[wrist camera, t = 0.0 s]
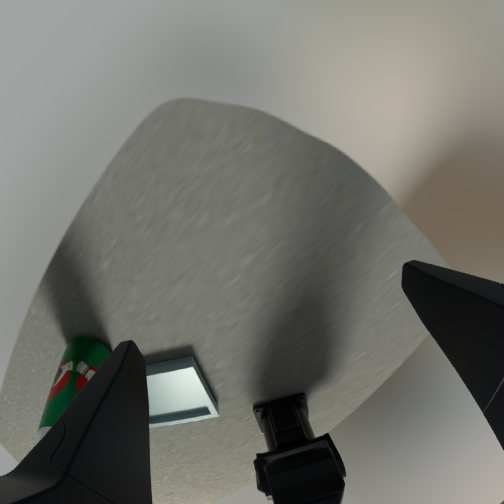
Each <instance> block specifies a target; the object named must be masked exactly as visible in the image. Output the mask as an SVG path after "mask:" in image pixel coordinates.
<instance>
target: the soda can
mask: <svg viewBox="0 0 504 504" xmlns="http://www.w3.org/2000/svg"><path fill="white" fill-rule="evenodd" d="M110 354H111V352H110V351H109V350H108V348H107V347H106V346H105V345H104V344H103V343H101V342H100V341H98V340H96V339H94V338H91V337H77V338H74V339H72V340H71V341H69V343H68V345H67V347H66V350H65V352H64V355H63V357H62V360H61V362H60V365H59V368H58V370H57V373H56V376H55V379H54V382H53V384H52V387H51V390H50V393H49V396H48V399H47V402H46V405H45V409H44V412H43V415H42V418H41V422H40V425H39V429H38V432H39V435H40V438H41V439H42V438H43V437H44V435H45V434H46V433H47V432H48V431H49V429H50V428H51V427H52V426H53V424H54V423H55V422H56V421H57V419H58V418H59V417H60V416H62V413H63V412H64V411H65V409H66V408H67V407H68V405H69V404H70V403H71V402H72V400H73V399H74V398H75V397H76V395H77V394H78V393H79V392H80V391H81V389H82V388H83V387H84V386H85V384H86V383H87V382H88V381H89V379H90V378H91V377H92V376H93V375H94V373H95V372H96V371H97V370H98V368H99V367H100V366H101V365H102V364H103V362H104V361H105V360H106V359H107V358H108V356H109V355H110Z"/></svg>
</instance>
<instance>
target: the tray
mask: <svg viewBox="0 0 504 504" xmlns="http://www.w3.org/2000/svg"><path fill="white" fill-rule="evenodd" d="M146 375H147V386H148V396H149V428H150V427H158V426H166V425H172V424H179V423H185V422H191V421H197V420H202V419H207V418H212V417H217V416H219V411H218V405H217V403H216V401H215V399H214V397H213V396H212V394H211V392H210V390H209V388H208V386H207V384H206V382H205V380H204V378H203V376H202V374H201V372H200V370H199V368H198V366H197V364H196V362H195V360H194V358H193V355H192V356H187V357H183V358H178V359H173V360H169V361H164V362H159V363H154V364H149V365H146Z"/></svg>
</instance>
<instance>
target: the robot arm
mask: <svg viewBox="0 0 504 504" xmlns="http://www.w3.org/2000/svg"><path fill="white" fill-rule="evenodd" d="M401 285H402V289H403V291H404V293H405V294H406V296H407V298H408V299H409V301H410V303H411V304H412V306H413V308H414V309H415V311H416V313H417V314H418V316H419V318H420V319H421V321H422V322H423V324H424V325H425V327H426V328H427V330H428V331H429V332H430V334H431V335H432V337H433V338H434V339H435V340H436V342H437V344H438V345H439V346H440V348H441V349H442V351H443V352H444V354H445V355H446V356H447V358H448V359H449V361H450V362H451V364H452V365H453V367H454V368H455V369H456V371H457V373H458V374H459V375H460V377H461V379H462V380H463V382H464V383H465V385H466V387H467V388H468V389H469V391H470V393H471V394H472V396H473V398H474V399H475V401H476V403H477V404H478V406H479V407H480V409H481V411H482V412H483V414H484V416H485V418H486V419H487V421H488V423H489V425H490V426H491V428H492V430H493V431H494V433H495V435H496V437H497V439H498V441H499V442H500V444H501V446H502V448H503V450H504V284H502V283H501V284H500V283H498V282H495V281H491V280H488V279H484V278H480V277H477V276H473V275H470V274H466V273H462V272H458V271H455V270H451V269H447V268H443V267H440V266H436V265H432V264H428V263H424V262H420V261H416V260H412V261H409V262H406V263H404V265H403V268H402V282H401ZM253 412H254V414H255V417H256V419H257V422H258V424H259V427H260V429H261V431H262V432H263V433H264V436H265V439H266V443H267V447H268V451H269V452H265V453H258V454H256V456H257V459H255V460H254V461H253V462H254V466H255V471H256V480H257V488H258V490H259V491H261V492H263V493H264V495H266V497H267V499H268V500H272V499H273V502H274V504H341V503H342V500H343V495H344V488H345V482H344V479H343V478H344V477H346V472H345V467H344V464H343V461H342V459H341V456H340V454H339V452H338V451H337V449H336V447H335V445H334V443H333V441H332V439H331V437H330V435H329V434H328V433H326V434H324V435H323V436H320V437H317V438H315V436H314V433H313V430H312V428H311V425H310V423H309V420H308V410H307V403H306V396H305V394H304V393H301V394H297V395H294V396H291V397H288V398H284V399H281V400H277V401H274V402H270V403H266V404H263V405H259V406H255V407H254V408H253ZM0 504H152V491H151V474H150V445H149V396H148V386H147V375H146V363H145V360H144V357H143V356H142V354H141V352H140V351H139V349H138V347H137V345H136V344H135V342H134V341H132V340H128V341H123V342H120V343H119V345H118V346H117V347H116V348H115V349H114V350H113V352H112V353H111V354H110V355H109V356H108V358H107V359H106V360H105V361H104V362H103V364H102V365H101V366H100V367H99V368H98V370H97V371H96V372H95V373H94V375H93V376H92V377H91V378H90V379H89V381H88V382H87V383H86V384H85V386H84V387H83V388H82V389H81V391H80V392H79V393H78V394H77V395H76V397H75V398H74V399H73V400H72V402H71V403H70V404H69V405H68V407H67V408H66V409H65V411H64V412H63V413H62V416H60V417H59V418H58V419H57V421H56V422H55V423H54V424H53V426H52V427H51V428H50V429H49V431H48V432H47V433H46V434H45V435H44V437H43V438H42V439H41V440H40V441H39V442H38V443H37V445H36V446H35V447H34V448H33V449H32V450H31V451H30V452H29V453H28V454H27V456H26V457H25V458H24V459H23V460H22V461H21V462H20V463H19V464H18V466H17V467H16V468H15V469H14V470H12V471H11V472H9V473H8V474H6V475H3V476H0ZM501 504H504V501H503V502H502V503H501Z"/></svg>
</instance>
